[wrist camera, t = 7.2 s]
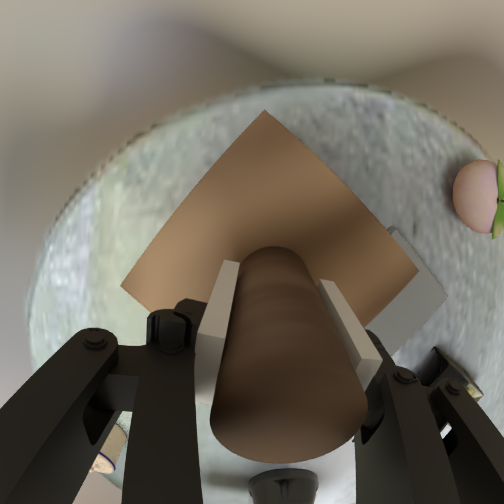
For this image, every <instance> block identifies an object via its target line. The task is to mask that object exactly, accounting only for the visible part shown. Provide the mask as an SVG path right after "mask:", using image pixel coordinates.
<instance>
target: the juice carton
mask: <svg viewBox="0 0 504 504" xmlns="http://www.w3.org/2000/svg"><path fill="white" fill-rule="evenodd" d="M433 349H435V350H436V352H437V354H438V357H439V359H440V362H441V369H440V372H439V374H438V375H437V377H436V378H435V380H434V381H433V382H432V383H431V384H430V385H429V386H430V387H432V388H435V386H436V385H437V383H438V382H439V380H440V379H442V378H452V379H455V380H457V382H459V383H460V384H461V385H463V386H464V387H465V389H466V390H467V391H468V392H469V394H470V395H471V396H472V397H473V398H474V400H475V401H476V402H478V401H479V399H480V398H481V397H483V396H484V394H483V392H482V391H481V390H480V388H479V387H478V386H477V385H476V384H475V382H474V381H473V380H472V379H471V377H470V375H469V374H468V373H467V372H466V371H465V370H464V369H462V368H461V367H460V366H459V365H457V364H456V363H455V362H454V361H453V360H451V359H450V358H449V357H448V356H447V355H445V354H444V353H443V352H442V351H441V350H439V349H438V348H437V347H433ZM433 349H432V350H433ZM432 350H431V351H432ZM448 425H449V426H450V424H449V423H448Z"/></svg>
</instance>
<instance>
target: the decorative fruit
mask: <svg viewBox="0 0 504 504" xmlns="http://www.w3.org/2000/svg"><path fill="white" fill-rule="evenodd" d="M453 203H454V207H455V210H456V212H457V214H458V216H459V218H460V219H461V221H462V222H463V223H464V224H465V225H466V226H467V227H469V228H470V229H472V230H474V231H476V232H480V233H492V239H494V238H496V237H497V236H498V235H499V234H500V232H501V231H502V229H503V228H504V166H503V165H502V163H501V162H500V161H499V160H498V165H496V164H495V163H493V162H490V161H488V160H475V161H472V162H470V163H468V164H467V165H466V166H464V167H463V168H462V169H461V170H460V171H459V173H458V174H457V176H456V178H455V181H454V185H453Z"/></svg>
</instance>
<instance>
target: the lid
mask: <svg viewBox="0 0 504 504" xmlns="http://www.w3.org/2000/svg"><path fill="white" fill-rule="evenodd" d="M224 260H229V261H233V262H238V263H240V265H239V270H238V275H237V280H236V285H235V290H234V296H233V301H232V306H231V311H230V317H229V322H228V327H227V332H226V338H225V343H224V348H223V353H222V358H221V363H220V368H219V372H218V376H217V381H216V386H215V391H214V397H213V402H212V408H211V413H210V426H211V429H212V432H213V434H214V436H215V437H216V439H217V440H218V441H219V442H220V443H221V444H222V445H223V446H224V447H225V448H227V449H228V450H230V451H231V452H233V453H235V454H237V455H239V456H241V457H244V458H247V459H250V460H253V461H258V462H264V463H276V464H283V463H295V462H301V461H306V460H310V459H314V458H317V457H320V456H322V455H325V454H327V453H329V452H331V451H333V450H335V449H337V448H339V447H340V446H342V445H343V444H345V443H346V442H347V441H348V440H349V439H351V438H352V437H353V436H354V435H355V434H356V433H357V431H358V430H359V429H360V427H361V426H362V424H363V422H364V420H365V418H366V415H367V410H368V402H367V397H366V395H365V392H364V390H363V388H362V385H361V383H360V381H359V378H358V376H357V374H356V371H355V369H354V367H353V365H352V362H351V360H350V358H349V356H348V353H347V351H346V349H345V347H344V345H343V342H342V340H341V338H340V336H339V334H338V332H337V329H336V327H335V325H334V323H333V321H332V319H331V317H330V314H329V312H328V310H327V308H326V306H325V304H324V302H323V300H322V298H321V296H320V293H319V291H318V289H317V286H318V283H319V279H323V280H328V281H333V282H334V283H335V284H336V286H337V287H338V289H339V290H340V292H341V293H342V295H343V297H344V298H345V300H346V301H347V303H348V304H349V306H350V307H351V309H352V311H353V312H354V314H355V315H356V317H357V319H358V320H359V322H360V323H361V325H362V327H363V328H365V327H366V326H367V325H368V324H369V323H370V322H371V321H372V320H373V319H374V318H375V317H376V316H377V315H378V314H379V313H380V312H381V311H382V310H383V309H384V308H385V307H386V306H387V305H388V304H389V303H390V302H391V301H392V300H393V299H394V298H395V297H396V296H397V295H398V294H399V293H400V292H401V291H402V290H403V289H404V288H405V286H406V285H407V284H408V283H409V282H410V281H411V280H412V279H413V278H414V277H415V276H416V274H417V273H418V272H419V270H418V268H417V267H416V266H415V264H414V263H413V262H412V261H411V259H410V258H409V257H408V255H407V254H406V253H405V252H404V250H403V249H402V248H401V247H400V246H399V244H398V243H397V242H396V241H395V239H394V238H393V237H392V236H391V235H390V233H389V232H388V231H387V230H386V229H385V228H384V226H383V225H382V224H381V223H380V222H379V221H378V220H377V218H376V217H375V216H374V215H373V214H372V213H371V212H370V211H369V209H368V208H367V207H366V206H365V205H364V204H363V203H362V202H361V201H360V200H359V198H358V197H357V196H356V195H355V194H354V193H353V192H352V191H351V190H350V189H349V188H348V187H347V186H346V185H345V184H344V183H343V182H342V181H341V180H340V179H339V178H338V177H337V176H336V175H335V174H334V173H333V172H332V171H331V170H330V169H329V168H328V167H327V166H326V165H325V164H324V163H323V162H322V161H321V160H320V159H319V158H318V157H317V156H316V155H315V154H314V153H313V152H312V151H311V150H310V149H309V148H308V147H307V146H305V145H304V144H303V143H302V142H301V141H300V140H299V139H298V138H297V137H296V136H295V135H293V134H292V133H291V132H290V131H289V130H288V129H287V128H285V127H284V126H283V125H282V124H281V123H280V122H279V121H277V120H276V119H275V118H274V117H273V116H272V115H270V114H269V113H268V112H267V111H266V110H264V111H263V112H262V113H261V114H260V115H259V116H258V117H257V118H256V119H255V120H254V121H253V122H252V123H251V124H250V125H249V126H248V127H247V129H246V130H245V131H244V132H243V133H242V134H241V135H240V136H239V137H238V138H237V139H236V140H235V141H234V143H233V144H232V145H231V146H230V147H229V148H228V149H227V150H226V151H225V152H224V154H223V155H222V156H221V157H220V158H219V159H218V160H217V162H216V163H215V164H214V165H213V166H212V167H211V168H210V170H209V171H208V172H207V173H206V174H205V175H204V177H203V178H202V179H201V180H200V181H199V182H198V184H197V185H196V186H195V187H194V188H193V190H192V191H191V192H190V193H189V195H188V196H187V197H186V198H185V199H184V201H183V202H182V203H181V204H180V206H179V207H178V208H177V209H176V211H175V212H174V213H173V214H172V216H171V217H170V218H169V220H168V221H167V222H166V223H165V225H164V226H163V227H162V229H161V230H160V231H159V232H158V234H157V235H156V236H155V238H154V239H153V240H152V242H151V243H150V244H149V246H148V247H147V249H146V250H145V251H144V253H143V254H142V255H141V257H140V258H139V259H138V261H137V262H136V264H135V265H134V266H133V268H132V269H131V271H130V272H129V274H128V275H127V276H126V278H125V279H124V281H123V282H122V284H121V285H120V286H121V287H122V288H123V289H124V290H125V291H126V292H128V293H129V294H130V295H131V296H132V297H133V298H134V299H136V300H137V301H138V302H139V303H140V304H141V305H143V306H144V307H145V308H146V309H147V310H149V311H150V312H151V313H152V312H154V311H156V310H160V309H174V308H175V306H176V304H177V303H178V302H179V301H181V300H183V299H185V298H188V299H192V300H197V301H201V302H206V303H208V302H209V299H210V296H211V294H212V291H213V288H214V285H215V283H216V280H217V277H218V275H219V272H220V269H221V267H222V264H223V261H224Z"/></svg>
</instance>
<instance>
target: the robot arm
mask: <svg viewBox="0 0 504 504" xmlns="http://www.w3.org/2000/svg"><path fill="white" fill-rule="evenodd" d="M239 265H240V263H238V262H233V261H229V260H224V261H223V264H222V267H221V269H220V272H219V275H218V277H217V280H216V283H215V285H214V288H213V291H212V294H211V296H210V299H209V302H208V303H206V302H201V301H197V300H192V299H188V298H185V299H183V300H181V301H179V302H178V303H177V304H176V306H175V308H174V309H160V310H156V311H154V312H152V313H150V314H149V316H148V317H147V334H146V345H142V346H126V345H118V341H117V338H116V336H115V335H114V334H113V333H111V332H109V331H108V330H105V329H101V328H87V329H83V330H81V331H79V332H77V333H76V334H75V335H74V336H73V337H71V338H70V339H69V340H68V341H67V342H66V343H65V344H64V345H63V346H62V347H61V348H60V349H59V350H58V351H57V352H56V353H55V354H54V355H53V356H51V357H50V358H49V359H48V360H47V361H46V362H45V363H44V364H43V365H42V366H41V367H40V368H39V369H38V370H37V371H36V372H35V373H34V374H33V375H32V376H31V377H30V378H29V379H28V380H27V381H26V382H25V383H24V384H23V385H22V386H21V388H20V389H19V390H18V391H17V392H16V393H15V394H14V395H13V396H12V397H11V398H10V399H9V400H8V401H7V402H6V403H5V404H4V405H3V407H2V408H1V409H0V504H72V503H73V501H74V499H75V497H76V495H77V493H78V492H79V490H80V488H81V486H82V484H83V482H84V480H85V478H86V476H87V474H88V472H89V471H90V469H91V467H92V465H93V463H94V461H95V459H96V458H97V456H98V454H99V452H100V450H101V448H102V447H103V445H104V443H105V441H106V439H107V438H108V436H109V434H110V432H111V430H112V429H113V427H114V425H115V423H116V421H117V420H118V418H119V416H120V414H121V413H122V411H129V412H132V419H131V425H130V431H129V438H128V445H127V453H126V461H125V470H124V479H123V490H122V503H121V504H203V497H202V488H201V478H200V467H199V455H198V441H197V425H196V406H195V402H197V403H201V404H206V405H211V406H212V402H213V397H214V391H215V386H216V381H217V376H218V372H219V368H220V363H221V358H222V353H223V348H224V343H225V338H226V332H227V327H228V322H229V317H230V311H231V306H232V301H233V296H234V290H235V285H236V280H237V275H238V270H239ZM317 289H318V291H319V293H320V296H321V298H322V300H323V302H324V304H325V306H326V308H327V310H328V312H329V314H330V317H331V319H332V321H333V323H334V325H335V327H336V329H337V332H338V334H339V336H340V338H341V340H342V342H343V345H344V347H345V349H346V351H347V353H348V356H349V358H350V360H351V362H352V365H353V367H354V369H355V371H356V374H357V376H358V378H359V381H360V383H361V385H362V388H363V390H364V392H365V395H366V397H367V402H368V410H367V415H366V418H365V420H364V422H363V424H362V426H361V427H360V429H359V430H358V431H357V433H356V434H355V435H354V439H353V440H352V442H355V461H356V504H504V438H503V436H502V435H501V433H500V432H499V431H498V429H497V428H496V427H495V425H494V424H493V423H492V421H491V420H490V419H489V417H488V416H487V415H486V414H485V412H484V411H483V410H482V408H481V407H480V406H479V405H478V403H477V402H476V401H475V400H474V398H473V397H472V396H471V395H470V394H469V392H468V391H467V390H466V389H465V387H464V386H463V385H461V384H460V383H459V382H457V380H455V379H452V378H442V379H440V380H439V382H438V383H437V385H436V386H435V388H432V387H427V386H423V385H421V382H420V380H419V378H418V377H417V375H416V374H414V373H413V372H412V371H410V370H408V369H406V368H403V367H400V366H396V364H395V363H394V361H393V360H392V358H391V357H390V355H389V353H388V352H387V351H386V349H385V347H384V346H383V345H382V343H381V341H380V340H379V338H378V337H377V336H376V335H375V334H374V333H373V332H371V331H370V330H367V329H364V328H363V327H362V325H361V323H360V322H359V320H358V319H357V317H356V315H355V314H354V312H353V311H352V309H351V307H350V306H349V304H348V303H347V301H346V300H345V298H344V297H343V295H342V293H341V292H340V290H339V289H338V287H337V286H336V284H335V283H334V282H333V281H328V280H323V279H319V283H318V286H317ZM448 423H449V424H450V426H451V427H452V429H451V430H450V431H449V433H448V434H447V435H446V436H445V437H444V438H443V439H442V437H441V435H440V433H441V431H442V430H443V429H444V428H445V426H446V425H447V424H448ZM347 442H348V441H347ZM317 489H318V479H317V476H316V475H315V474H314V473H312V472H310V471H306V470H301V469H280V470H273V471H269V472H265V473H262V474H259V475H257V476H255V477H254V478H252V479H251V480H250V482H249V493H250V495H251V497H252V498H253V503H254V504H314V501H315V496H316V491H317Z"/></svg>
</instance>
